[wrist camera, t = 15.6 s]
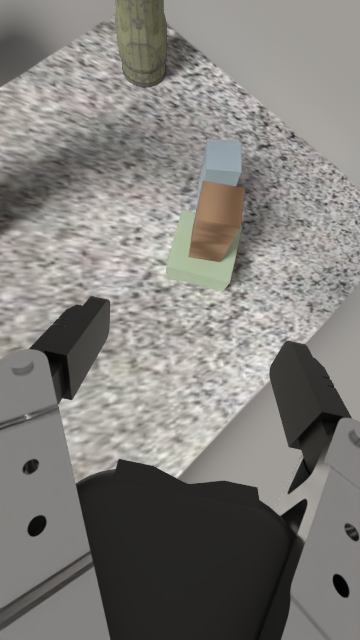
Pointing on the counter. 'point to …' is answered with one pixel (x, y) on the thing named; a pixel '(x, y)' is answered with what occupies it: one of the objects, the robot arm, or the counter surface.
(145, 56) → the thermos
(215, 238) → the walnut block
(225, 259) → the base block
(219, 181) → the slate block
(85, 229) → the counter surface
